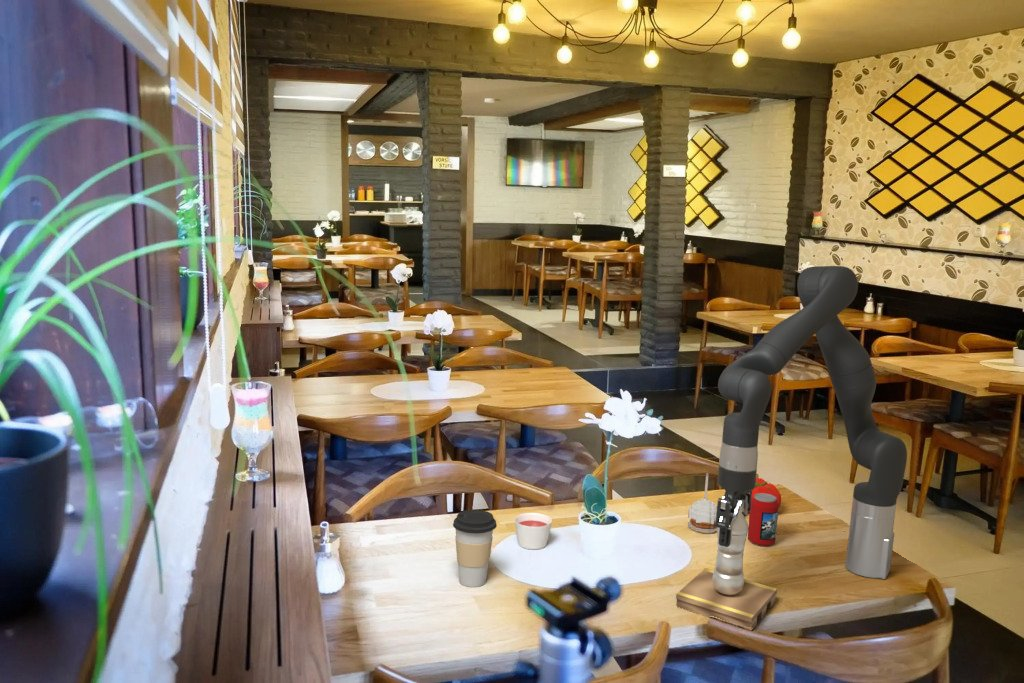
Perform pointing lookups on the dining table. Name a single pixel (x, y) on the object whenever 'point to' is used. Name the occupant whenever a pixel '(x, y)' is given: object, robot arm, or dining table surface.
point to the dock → (726, 600)
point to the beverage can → (763, 519)
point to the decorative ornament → (703, 514)
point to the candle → (532, 530)
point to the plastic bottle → (731, 559)
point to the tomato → (766, 489)
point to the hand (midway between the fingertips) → (731, 539)
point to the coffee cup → (473, 545)
